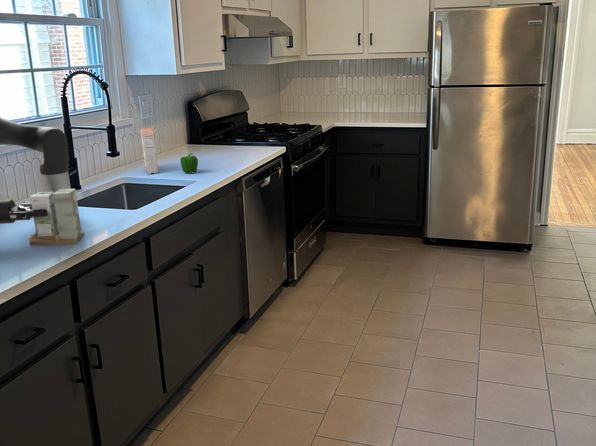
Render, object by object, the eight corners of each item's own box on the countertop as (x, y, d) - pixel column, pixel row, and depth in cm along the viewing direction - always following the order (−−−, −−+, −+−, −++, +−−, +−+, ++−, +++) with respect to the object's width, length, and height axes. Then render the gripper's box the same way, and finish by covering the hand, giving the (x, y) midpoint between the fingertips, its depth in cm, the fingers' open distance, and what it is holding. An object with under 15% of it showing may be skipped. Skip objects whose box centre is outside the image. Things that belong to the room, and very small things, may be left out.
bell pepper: (179, 172, 289) (177, 152, 286) (195, 170, 292) (194, 150, 289) (183, 175, 281) (182, 154, 279) (200, 173, 285) (198, 153, 282)
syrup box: (60, 233, 192) (54, 190, 187) (54, 239, 186) (47, 195, 182) (43, 234, 191) (36, 191, 187) (36, 240, 186) (29, 196, 181)
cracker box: (144, 169, 297) (140, 128, 291) (156, 168, 299) (152, 127, 293) (146, 174, 284) (141, 132, 278) (158, 173, 286) (154, 131, 280)
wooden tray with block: (40, 236, 193) (32, 189, 188) (84, 235, 194) (77, 187, 189) (30, 245, 185) (21, 195, 180) (75, 243, 185) (68, 194, 180)
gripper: (-14, 206, 176) (42, 203, 178) (3, 195, 190) (55, 192, 192) (-9, 230, 179) (46, 226, 180) (7, 217, 192) (58, 214, 194)
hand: (50, 209), depth 186 cm, fingers open, 8 cm apart
